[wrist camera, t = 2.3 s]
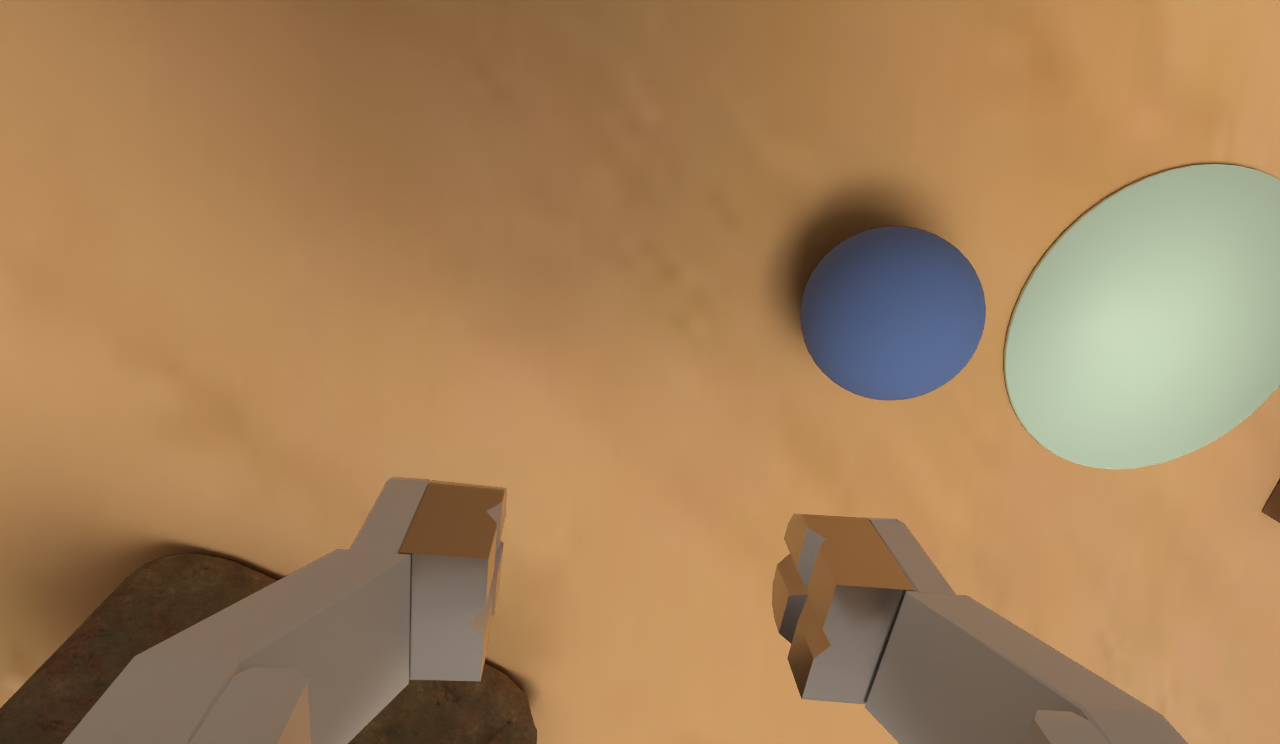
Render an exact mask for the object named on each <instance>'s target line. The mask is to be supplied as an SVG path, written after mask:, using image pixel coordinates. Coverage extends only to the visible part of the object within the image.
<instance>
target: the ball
mask: <svg viewBox="0 0 1280 744" xmlns="http://www.w3.org/2000/svg"><path fill="white" fill-rule="evenodd" d="M985 311H986V307H985V299H984V292H983V289H982V285H981V282H980V280H979V278H978V276H977V274H976V272H975V270H974V268H973V267H972V265H971V264H970V262H969V261H968V260H967V259H966V257H965V256H964V255H963V254H962V253H961V252H960V251H959V250H958V249H957V248H956V247H954V246H953V245H952V244H951V243H949V242H947V241H946V240H944V239H942V238H940V237H939V236H937V235H935V234H932V233H930V232H927V231H924V230H920V229H916V228H911V227H902V226H892V227H880V228H875V229H870V230H867V231H864V232H861V233H859V234H857V235H854V236H852V237H850V238H848V239H846V240H845V241H843V242H842V243H840V244H838V245H837V246H836V247H835V248H833V249H832V250H831V251H830V252H829V253H828V254H827V255H826V256H825V257H824V258H823V259H822V260H821V261H820V263H819V264H818V265H817V266H816V268H815V269H814V271H813V273H812V274H811V276H810V278H809V280H808V282H807V285H806V287H805V291H804V294H803V298H802V304H801V314H800V320H801V329H802V333H803V337H804V342H805V344H806V347H807V349H808V351H809V353H810V355H811V356H812V358H813V360H814V361H815V363H816V365H817V366H818V367H819V368H820V369H821V371H822V372H823V373H824V374H825V375H826V376H828V377H829V378H830V379H831V380H832V381H833V382H835V383H836V384H838V385H839V386H841V387H842V388H844V389H846V390H848V391H850V392H852V393H854V394H857V395H860V396H863V397H867V398H871V399H877V400H903V399H909V398H914V397H918V396H921V395H924V394H926V393H929V392H931V391H933V390H935V389H937V388H939V387H941V386H942V385H944V384H945V383H947V382H948V381H950V380H951V379H952V378H953V377H955V376H956V375H957V374H958V373H959V372H960V371H961V370H962V369H963V368H964V367H965V365H966V364H967V363H968V361H969V360H970V359H971V357H972V356H973V354H974V352H975V350H976V349H977V346H978V344H979V341H980V339H981V336H982V333H983V329H984V324H985Z"/></svg>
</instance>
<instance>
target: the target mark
mask: <svg viewBox="0 0 1280 744" xmlns="http://www.w3.org/2000/svg"><path fill="white" fill-rule="evenodd" d="M1004 376H1005V384H1006V389H1007V393H1008V396H1009V400H1010V403H1011V405H1012V407H1013V409H1014V412H1015V414H1016V416H1017V418H1018V419H1019V421H1020V422H1021V424H1022V425H1023V426H1024V428H1025V429H1026V431H1027V432H1028V433H1029V434H1030V435H1031V436H1032V437H1033V438H1034V439H1035V440H1036V441H1037V442H1038V443H1040V444H1041V445H1042V446H1044V447H1045V448H1047V449H1048V450H1049V451H1051V452H1052V453H1054V454H1056V455H1058V456H1060V457H1062V458H1064V459H1066V460H1068V461H1071V462H1074V463H1077V464H1080V465H1083V466H1089V467H1095V468H1101V469H1130V468H1140V467H1145V466H1150V465H1155V464H1159V463H1163V462H1166V461H1169V460H1173V459H1176V458H1178V457H1181V456H1183V455H1186V454H1188V453H1191V452H1193V451H1196V450H1197V449H1199V448H1201V447H1203V446H1205V445H1207V444H1209V443H1211V442H1213V441H1215V440H1216V439H1218V438H1219V437H1221V436H1222V435H1224V434H1225V433H1227V432H1229V431H1230V430H1232V429H1233V428H1234V427H1236V426H1237V425H1238V424H1240V423H1241V422H1242V421H1243V420H1245V419H1246V418H1247V417H1249V416H1250V415H1251V414H1252V413H1253V412H1254V411H1255V410H1256V409H1257V408H1259V407H1260V406H1261V405H1262V404H1263V403H1264V402H1265V401H1266V400H1267V399H1268V398H1269V397H1270V396H1271V394H1272V393H1273V392H1274V391H1275V390H1276V389H1277V388H1278V387H1279V386H1280V180H1278V179H1277V178H1275V177H1273V176H1270V175H1268V174H1266V173H1263V172H1261V171H1259V170H1254V169H1250V168H1246V167H1242V166H1236V165H1224V164H1201V165H1189V166H1184V167H1179V168H1175V169H1170V170H1166V171H1163V172H1160V173H1157V174H1154V175H1151V176H1148V177H1145V178H1143V179H1141V180H1139V181H1137V182H1134V183H1132V184H1130V185H1128V186H1126V187H1124V188H1122V189H1120V190H1119V191H1117V192H1115V193H1113V194H1112V195H1110V196H1108V197H1107V198H1105V199H1103V200H1102V201H1101V202H1099V203H1098V204H1097V205H1095V206H1094V207H1093V208H1091V209H1090V210H1088V211H1087V212H1086V213H1084V214H1083V215H1082V216H1081V217H1080V218H1079V219H1077V220H1076V221H1075V222H1074V223H1073V224H1072V225H1071V226H1070V227H1069V228H1068V229H1067V230H1066V231H1064V232H1063V234H1062V235H1061V236H1060V237H1059V238H1058V239H1057V240H1056V241H1055V243H1054V244H1053V245H1052V246H1051V247H1050V248H1049V249H1048V250H1047V252H1046V253H1045V255H1044V256H1043V257H1042V259H1041V260H1040V262H1039V263H1038V264H1037V266H1036V267H1035V268H1034V270H1033V272H1032V273H1031V275H1030V277H1029V279H1028V280H1027V282H1026V284H1025V286H1024V287H1023V289H1022V291H1021V293H1020V296H1019V298H1018V300H1017V303H1016V305H1015V307H1014V310H1013V313H1012V316H1011V320H1010V323H1009V326H1008V330H1007V335H1006V341H1005V348H1004Z"/></svg>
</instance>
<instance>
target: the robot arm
mask: <svg viewBox="0 0 1280 744" xmlns="http://www.w3.org/2000/svg"><path fill="white" fill-rule="evenodd" d="M506 497H507V488H502V487H492V486H483V485H473V484H464V483H454V482H445V481H435V480H432V481H430V480H429V479H416V478H402V477H392V478H390V479H389V480H388V481H387V482H386V484H385V485H384V487H383V489H382V491H381V493H380V495H379V496H378V498H377V500H376V502H375V504H374V506H373V507H372V509H371V511H370V513H369V515H368V517H367V518H366V520H365V522H364V524H363V526H362V528H361V529H360V531H359V533H358V535H357V537H356V538H355V540H354V542H353V544H352V546H351V548H350V549H349V550H342V549H337V550H335V551H333V552H331V553H329V554H327V555H325V556H323V557H322V558H320V559H318V560H316V561H314V562H312V563H310V564H308V565H306V566H305V567H303V568H301V569H299V570H297V571H295V572H293V573H291V574H289V575H288V576H286V577H284V578H282V579H280V580H278V581H276V582H274V583H272V584H271V585H269V586H267V587H265V588H263V589H261V590H259V591H257V592H255V593H253V594H252V595H250V596H248V597H246V598H244V599H242V600H240V601H238V602H236V603H235V604H233V605H231V606H229V607H227V608H225V609H223V610H221V611H219V612H218V613H216V614H214V615H212V616H210V617H208V618H206V619H204V620H202V621H201V622H199V623H197V624H195V625H193V626H191V627H189V628H187V629H185V630H183V631H182V632H180V633H178V634H176V635H174V636H172V637H170V638H168V639H166V640H165V641H163V642H161V643H159V644H157V645H155V646H153V647H151V648H149V649H148V650H146V651H144V652H142V653H140V654H138V655H136V656H134V658H133V659H132V660H131V661H130V662H129V664H128V665H127V666H126V667H125V669H124V670H123V671H122V672H121V673H120V675H119V676H118V677H117V678H116V679H115V681H114V682H113V683H112V684H111V685H110V687H109V688H108V689H107V690H106V691H105V693H104V694H103V695H102V696H101V697H100V699H99V700H98V701H97V702H96V704H95V705H94V706H93V707H92V708H91V710H90V711H89V712H88V713H87V714H86V716H85V717H84V718H83V719H82V720H81V722H80V723H79V724H78V725H77V726H76V728H75V729H74V730H73V731H72V732H71V734H70V735H69V736H68V737H67V739H66V740H65V741H64V742H63V743H62V744H348V743H349V742H350V741H351V740H352V739H353V738H354V737H355V736H356V735H357V734H358V733H359V732H360V731H361V730H362V729H363V728H364V727H365V726H366V725H367V724H368V723H369V722H370V721H371V720H372V719H373V718H374V717H375V716H376V715H377V714H378V713H379V712H380V711H381V710H382V709H383V708H385V707H386V706H387V705H388V704H389V703H390V702H391V701H392V700H393V699H394V698H395V697H396V696H397V695H398V694H399V693H400V692H401V691H402V690H403V689H404V688H405V687H406V686H407V685H408V684H409V680H446V681H481V677H482V672H483V667H484V662H485V657H486V652H487V647H488V642H489V634H490V621H491V616H493V615H494V612H495V606H496V601H497V595H498V588H499V581H500V574H501V564H502V554H503V542H502V541H501V536H502V531H503V526H504V521H505V516H506ZM784 539H785V542H786V544H787V547H788V549H789V552H790V554H789V555H788V556H786V557H785V558H784V559H783V560H782V561H781V562H780V563H778V564H777V568H776V572H775V577H774V581H773V593H772V606H773V613H774V619H775V622H776V625H777V628H778V632H779V633H780V634H781V635H782V636H783V637H784V638H785V639H787V640H788V641H789V642H790V643H791V647H790V651H789V655H788V661H789V664H790V667H791V670H792V673H793V675H794V678H795V681H796V684H797V687H798V690H799V693H800V696H801V698H802V699H808V700H820V701H832V702H844V703H856V704H866V705H865V708H866V709H867V710H868V711H869V712H870V713H871V714H872V715H873V716H874V717H875V718H876V719H877V721H878V722H879V723H880V724H881V725H882V726H883V727H884V728H885V729H886V730H887V731H888V732H889V733H890V734H891V735H892V736H893V737H894V738H895V739H896V740H897V741H898V742H899V743H900V744H1188V743H1187V742H1186V741H1185V740H1184V739H1183V738H1182V736H1181V735H1180V734H1179V733H1178V732H1177V731H1176V730H1175V729H1174V728H1173V727H1172V725H1171V724H1170V723H1169V722H1168V721H1167V720H1166V719H1165V718H1164V717H1163V716H1162V714H1160V713H1158V712H1157V711H1155V710H1153V709H1152V708H1150V707H1148V706H1147V705H1145V704H1144V703H1142V702H1140V701H1139V700H1137V699H1135V698H1134V697H1132V696H1131V695H1129V694H1127V693H1126V692H1124V691H1122V690H1121V689H1119V688H1117V687H1116V686H1114V685H1113V684H1111V683H1109V682H1108V681H1106V680H1104V679H1103V678H1101V677H1100V676H1098V675H1096V674H1095V673H1093V672H1091V671H1090V670H1088V669H1086V668H1085V667H1083V666H1082V665H1080V664H1078V663H1077V662H1075V661H1073V660H1072V659H1070V658H1068V657H1067V656H1065V655H1064V654H1062V653H1060V652H1059V651H1057V650H1055V649H1054V648H1052V647H1051V646H1049V645H1047V644H1046V643H1044V642H1042V641H1041V640H1039V639H1037V638H1036V637H1034V636H1033V635H1031V634H1029V633H1028V632H1026V631H1024V630H1023V629H1021V628H1019V627H1018V626H1016V625H1015V624H1013V623H1011V622H1010V621H1008V620H1006V619H1005V618H1003V617H1002V616H1000V615H998V614H997V613H995V612H993V611H992V610H990V609H988V608H987V607H985V606H984V605H982V604H980V603H979V602H977V601H975V600H974V599H972V598H970V597H969V596H967V595H956V594H955V592H954V591H953V590H952V588H951V587H950V585H949V584H948V583H947V581H946V580H945V579H944V577H943V576H942V574H941V573H940V572H939V570H938V569H937V568H936V566H935V565H934V563H933V562H932V561H931V559H930V558H929V557H928V555H927V554H926V552H925V551H924V550H923V548H922V547H921V546H920V544H919V543H918V541H917V540H916V539H915V537H914V536H913V535H912V533H911V532H910V530H909V529H908V528H907V526H906V525H905V524H904V523H903V522H901V521H899V520H897V519H883V518H857V517H841V516H824V515H807V514H793V516H792V518H791V519H790V521H789V523H788V526H787V530H786V533H785V537H784Z"/></svg>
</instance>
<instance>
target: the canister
mask: <svg viewBox="0 0 1280 744" xmlns="http://www.w3.org/2000/svg"><path fill="white" fill-rule="evenodd" d="M276 581H277V580H275V579H273V578H271V577H269V576H267V575H265V574H263V573H261V572H258V571H256V570H253V569H251V568H248V567H246V566H244V565H241V564H239V563H236V562H234V561H231V560H227V559H223V558H219V557H214V556H208V555H203V554H176V555H171V556H166V557H161V558H159V559H156V560H154V561H151V562H149V563H147V564H145V565H143V566H142V567H141V568H139V569H138V570H137V571H135V572H134V573H133V574H131V575H130V576H129V577H128V578H126V579H125V580H124V581H123V582H122V583H121V584H120V585H119V586H118V587H117V588H116V590H115V591H114V592H113V593H112V594H111V595H110V596H109V597H108V598H107V599H106V600H105V601H104V602H103V603H102V604H101V605H100V606H99V607H98V608H97V609H96V610H95V611H94V612H93V613H92V614H91V615H90V616H89V617H88V618H87V619H86V621H85V622H84V623H83V624H82V625H81V626H80V627H79V628H78V629H77V630H76V631H75V632H74V633H73V634H72V635H71V636H70V637H69V638H68V639H67V640H66V641H65V642H64V643H63V644H62V645H61V646H60V647H59V648H58V649H57V650H56V651H55V653H54V654H53V655H52V656H51V657H50V658H49V659H48V660H47V661H46V662H45V663H44V664H43V665H42V666H41V667H40V668H39V669H38V670H37V671H36V672H35V673H34V674H33V675H32V676H31V677H30V678H29V679H28V680H27V681H26V682H25V683H24V685H23V686H22V687H21V688H20V689H19V690H18V691H17V692H16V693H15V694H14V695H13V696H12V697H11V698H10V699H9V700H8V701H7V702H6V703H5V704H4V705H3V706H2V707H1V708H0V744H62V743H63V742H64V741H65V740H66V739H67V737H68V736H69V735H70V734H71V732H72V731H73V730H74V729H75V728H76V726H77V725H78V724H79V723H80V722H81V720H82V719H83V718H84V717H85V716H86V714H87V713H88V712H89V711H90V710H91V708H92V707H93V706H94V705H95V704H96V702H97V701H98V700H99V699H100V697H101V696H102V695H103V694H104V693H105V691H106V690H107V689H108V688H109V687H110V685H111V684H112V683H113V682H114V681H115V679H116V678H117V677H118V676H119V675H120V673H121V672H122V671H123V670H124V669H125V667H126V666H127V665H128V664H129V662H130V661H131V660H132V659H133V658H134V656H136V655H138V654H140V653H142V652H144V651H146V650H148V649H149V648H151V647H153V646H155V645H157V644H159V643H161V642H163V641H165V640H166V639H168V638H170V637H172V636H174V635H176V634H178V633H180V632H182V631H183V630H185V629H187V628H189V627H191V626H193V625H195V624H197V623H199V622H201V621H202V620H204V619H206V618H208V617H210V616H212V615H214V614H216V613H218V612H219V611H221V610H223V609H225V608H227V607H229V606H231V605H233V604H235V603H236V602H238V601H240V600H242V599H244V598H246V597H248V596H250V595H252V594H253V593H255V592H257V591H259V590H261V589H263V588H265V587H267V586H269V585H271V584H272V583H274V582H276ZM348 744H537V729H536V727H535V725H534V722H533V718H532V715H531V711H530V707H529V703H528V699H527V696H526V695H525V694H524V693H523V691H522V690H521V689H520V688H519V687H518V686H517V685H516V684H515V683H514V682H513V681H512V680H511V679H510V678H509V677H508V676H507V675H506V674H504V673H502V672H501V671H499V670H497V669H495V668H494V667H492V666H490V665H488V664H485V663H484V667H483V672H482V677H481V681H446V680H409V684H408V685H407V686H406V687H405V688H404V689H403V690H402V691H401V692H400V693H399V694H398V695H397V696H396V697H395V698H394V699H393V700H392V701H391V702H390V703H389V704H388V705H387V706H386V707H385V708H383V709H382V710H381V711H380V712H379V713H378V714H377V715H376V716H375V717H374V718H373V719H372V720H371V721H370V722H369V723H368V724H367V725H366V726H365V727H364V728H363V729H362V730H361V731H360V732H359V733H358V734H357V735H356V736H355V737H354V738H353V739H352V740H351V741H350V742H349V743H348Z"/></svg>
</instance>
